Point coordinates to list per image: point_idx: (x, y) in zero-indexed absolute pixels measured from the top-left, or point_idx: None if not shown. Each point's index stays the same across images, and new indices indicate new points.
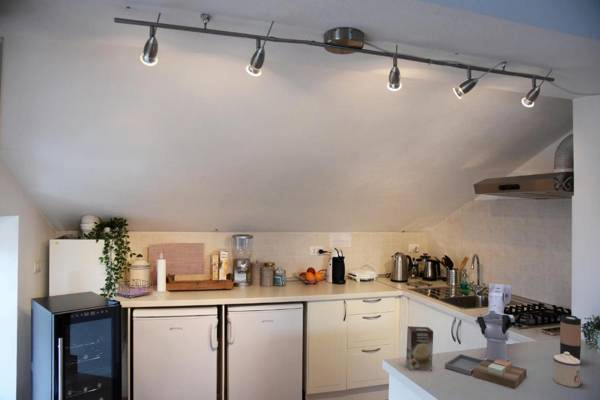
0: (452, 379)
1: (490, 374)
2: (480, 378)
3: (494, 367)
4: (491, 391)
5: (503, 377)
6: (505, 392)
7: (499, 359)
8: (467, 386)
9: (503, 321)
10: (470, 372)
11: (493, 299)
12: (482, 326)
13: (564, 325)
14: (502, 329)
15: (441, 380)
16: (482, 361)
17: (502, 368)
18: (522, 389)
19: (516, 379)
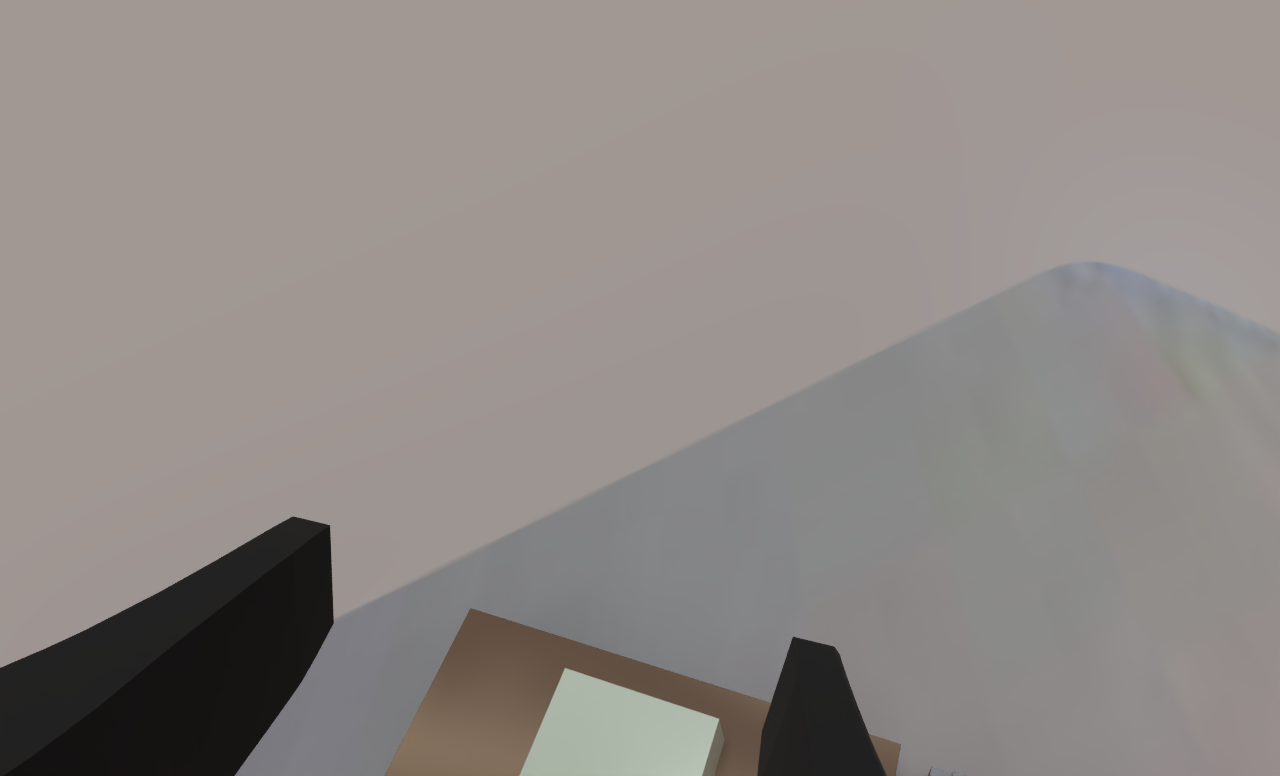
0: (1069, 578)
1: (695, 680)
2: None
3: (639, 732)
4: (694, 494)
5: (564, 647)
6: (584, 531)
7: None
8: (894, 492)
9: (64, 688)
10: (932, 770)
11: None
12: (817, 741)
13: None
14: (306, 524)
15: (1152, 501)
16: None
17: (545, 747)
18: (422, 672)
19: (439, 674)
